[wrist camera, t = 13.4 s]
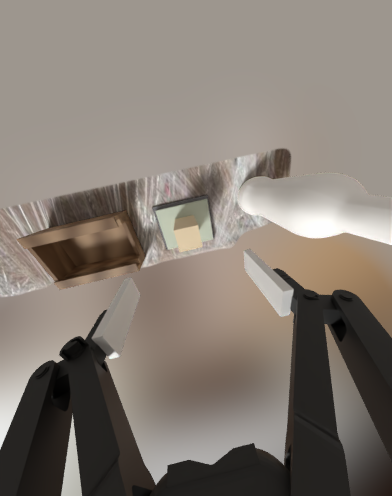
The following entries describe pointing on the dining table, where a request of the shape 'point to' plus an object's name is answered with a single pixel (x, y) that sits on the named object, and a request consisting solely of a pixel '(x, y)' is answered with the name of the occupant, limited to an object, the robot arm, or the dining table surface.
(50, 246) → the walnut box
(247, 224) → the dining table surface
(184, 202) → the mat
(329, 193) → the bottle
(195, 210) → the lid
